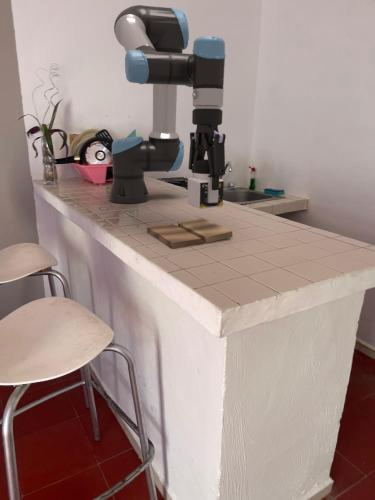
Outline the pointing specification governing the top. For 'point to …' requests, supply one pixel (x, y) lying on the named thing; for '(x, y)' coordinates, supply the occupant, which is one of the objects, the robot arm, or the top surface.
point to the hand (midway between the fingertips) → (204, 199)
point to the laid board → (174, 236)
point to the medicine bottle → (202, 187)
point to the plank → (205, 229)
